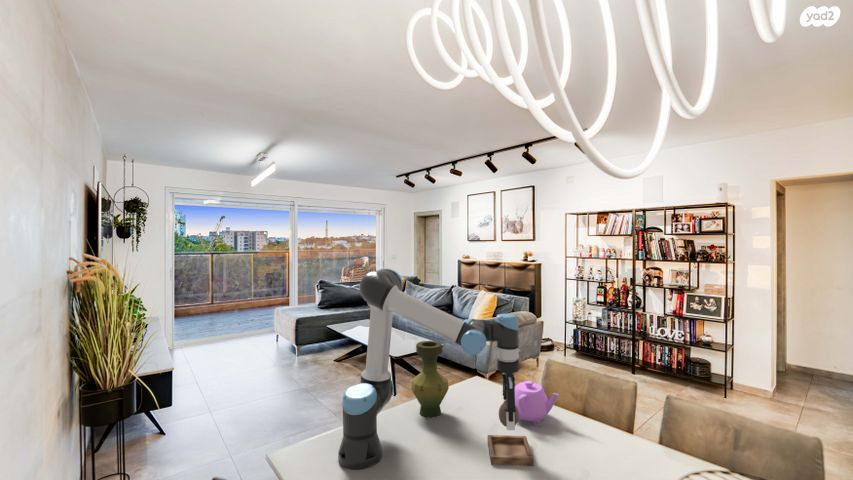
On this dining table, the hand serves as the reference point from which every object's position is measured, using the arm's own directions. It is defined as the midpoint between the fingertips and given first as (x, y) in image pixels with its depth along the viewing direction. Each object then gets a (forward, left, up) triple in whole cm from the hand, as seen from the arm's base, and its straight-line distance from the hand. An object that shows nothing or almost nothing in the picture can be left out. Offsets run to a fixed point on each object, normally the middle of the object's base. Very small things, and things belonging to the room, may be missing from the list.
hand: (509, 424), depth 132 cm
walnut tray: (0, 0, -10) cm, 10 cm away
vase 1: (-30, +29, -11) cm, 43 cm away
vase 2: (0, 0, 0) cm, 0 cm away
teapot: (+13, +25, -11) cm, 30 cm away
